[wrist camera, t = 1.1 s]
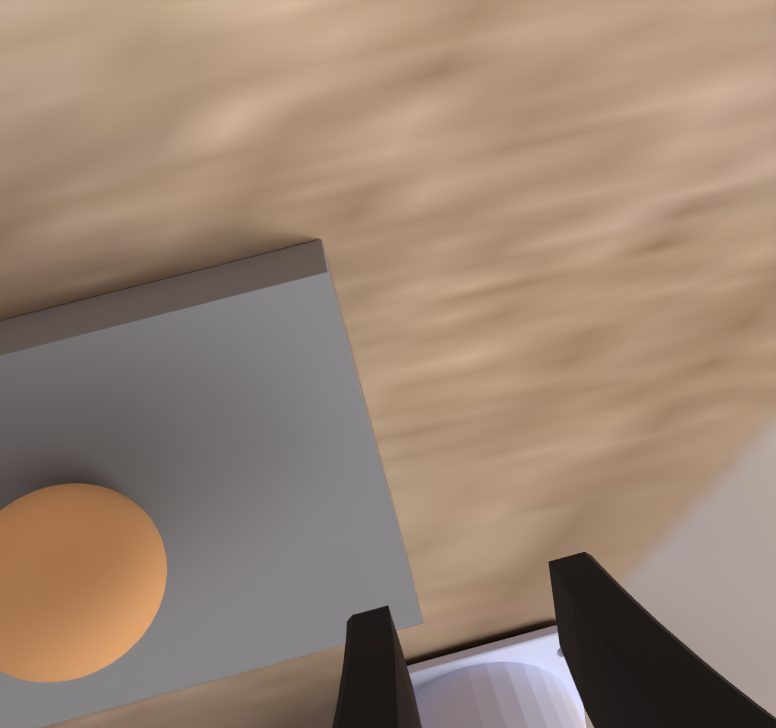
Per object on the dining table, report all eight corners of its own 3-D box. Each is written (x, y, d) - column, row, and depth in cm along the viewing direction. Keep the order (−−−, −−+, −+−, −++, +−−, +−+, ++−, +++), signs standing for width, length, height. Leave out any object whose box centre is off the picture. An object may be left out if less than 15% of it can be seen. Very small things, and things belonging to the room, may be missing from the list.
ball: (201, 555, 17) (180, 695, 13) (47, 596, 17) (-15, 748, 13) (141, 428, 15) (98, 551, 11) (-33, 473, 15) (-132, 612, 11)
